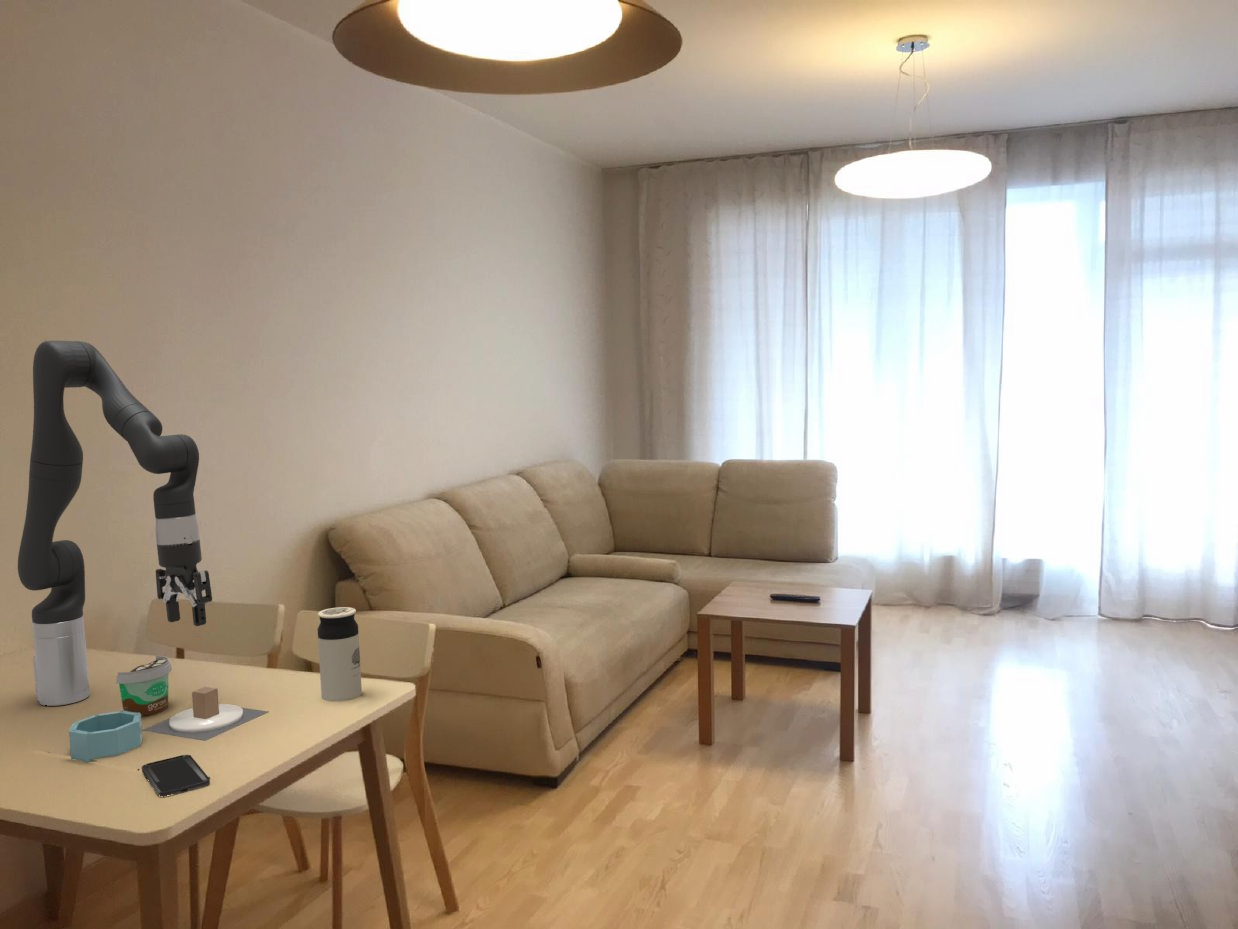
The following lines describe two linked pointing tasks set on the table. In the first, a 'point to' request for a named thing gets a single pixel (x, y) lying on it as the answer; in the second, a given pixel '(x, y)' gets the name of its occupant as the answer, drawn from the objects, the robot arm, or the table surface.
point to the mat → (165, 729)
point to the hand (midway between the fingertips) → (187, 623)
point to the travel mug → (339, 654)
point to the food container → (145, 687)
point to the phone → (175, 775)
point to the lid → (205, 713)
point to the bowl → (105, 735)
